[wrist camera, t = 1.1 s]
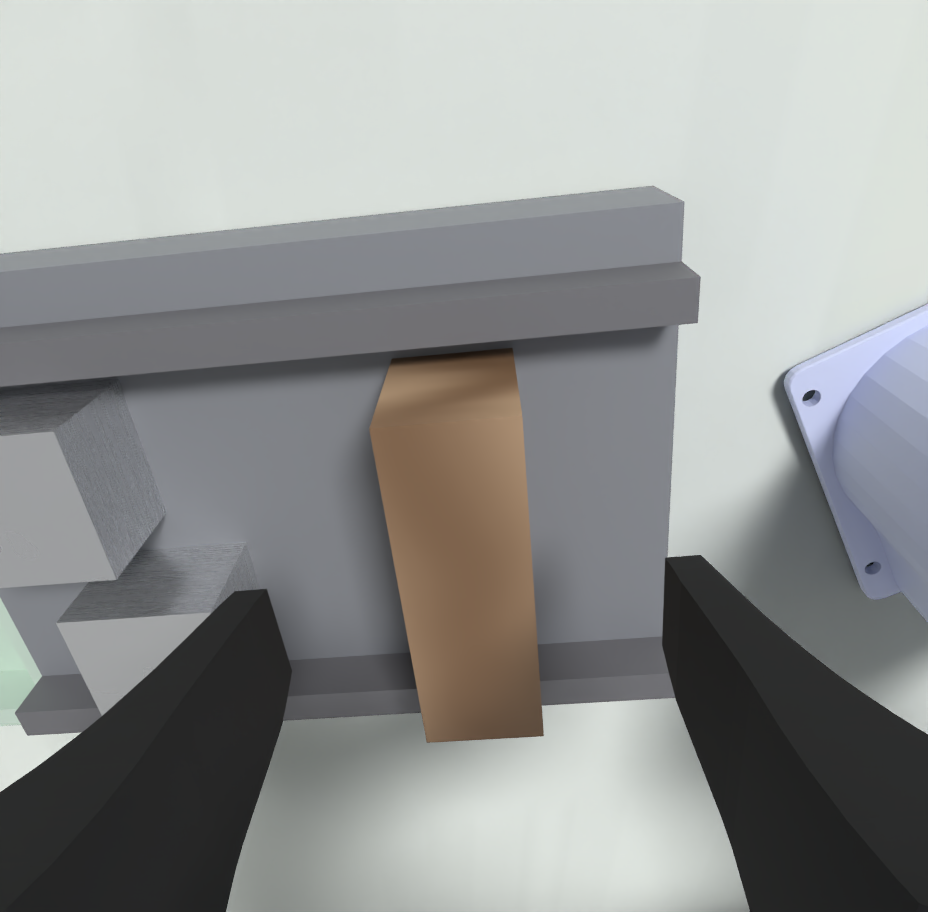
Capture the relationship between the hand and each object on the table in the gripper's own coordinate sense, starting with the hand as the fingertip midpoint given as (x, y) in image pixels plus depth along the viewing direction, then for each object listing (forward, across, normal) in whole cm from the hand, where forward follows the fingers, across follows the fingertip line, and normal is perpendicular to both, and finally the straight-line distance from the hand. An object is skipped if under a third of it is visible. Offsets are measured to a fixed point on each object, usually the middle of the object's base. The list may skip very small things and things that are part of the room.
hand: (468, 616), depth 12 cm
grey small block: (+5, +11, -1) cm, 12 cm away
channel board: (+9, +5, +2) cm, 11 cm away
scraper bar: (+6, 0, +2) cm, 7 cm away
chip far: (+5, +9, +4) cm, 11 cm away
